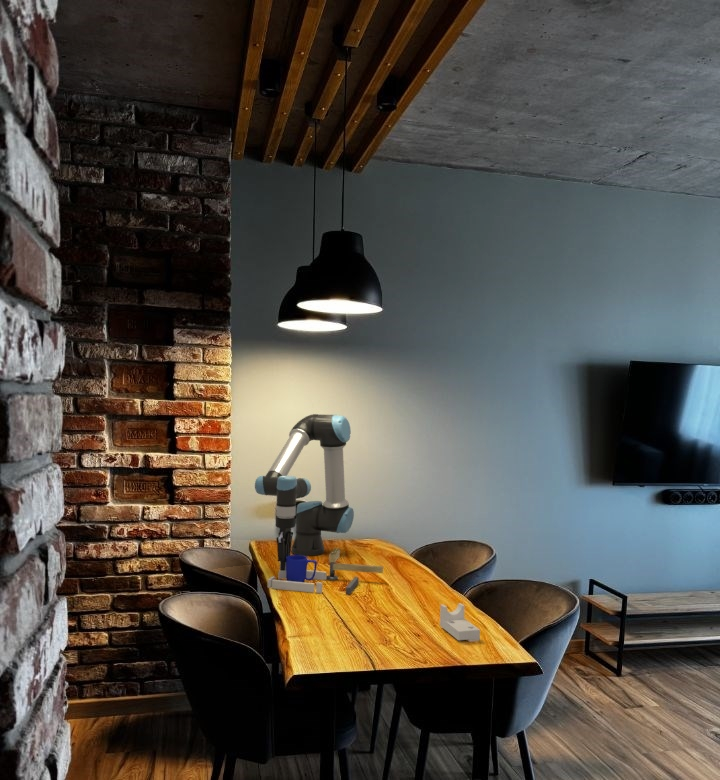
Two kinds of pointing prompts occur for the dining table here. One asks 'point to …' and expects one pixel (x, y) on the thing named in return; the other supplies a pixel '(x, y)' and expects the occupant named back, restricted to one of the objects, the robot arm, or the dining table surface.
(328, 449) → the robot arm
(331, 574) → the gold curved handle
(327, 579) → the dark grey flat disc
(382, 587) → the dining table surface
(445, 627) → the bracket
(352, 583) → the kerb
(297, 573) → the mug
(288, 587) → the beige rectangular bars
